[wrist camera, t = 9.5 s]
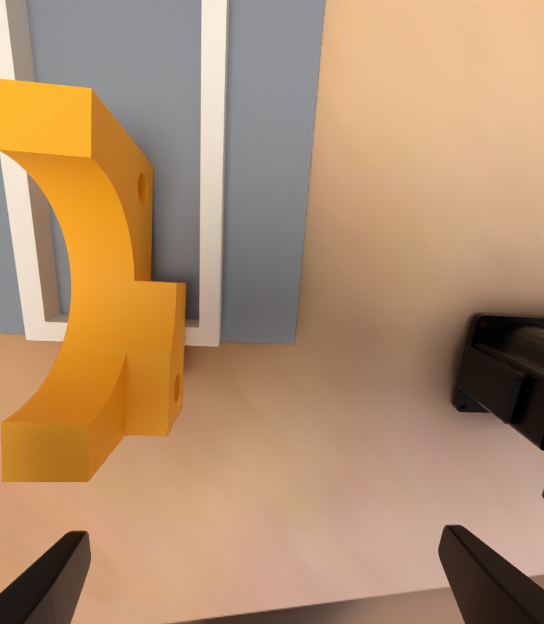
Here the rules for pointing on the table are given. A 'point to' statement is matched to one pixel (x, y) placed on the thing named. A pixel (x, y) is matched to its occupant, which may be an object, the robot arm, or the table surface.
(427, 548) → the table surface
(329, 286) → the table surface
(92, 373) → the pipe clamp
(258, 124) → the jig board
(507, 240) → the table surface
